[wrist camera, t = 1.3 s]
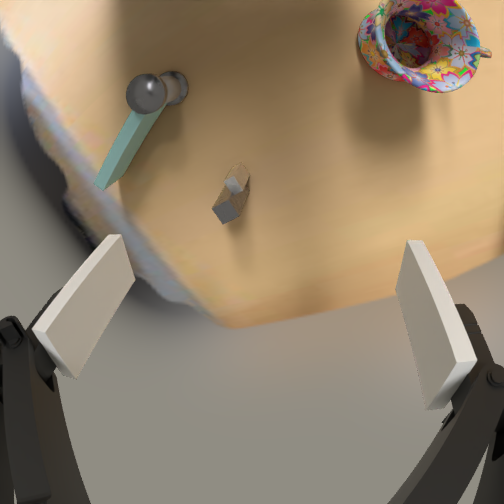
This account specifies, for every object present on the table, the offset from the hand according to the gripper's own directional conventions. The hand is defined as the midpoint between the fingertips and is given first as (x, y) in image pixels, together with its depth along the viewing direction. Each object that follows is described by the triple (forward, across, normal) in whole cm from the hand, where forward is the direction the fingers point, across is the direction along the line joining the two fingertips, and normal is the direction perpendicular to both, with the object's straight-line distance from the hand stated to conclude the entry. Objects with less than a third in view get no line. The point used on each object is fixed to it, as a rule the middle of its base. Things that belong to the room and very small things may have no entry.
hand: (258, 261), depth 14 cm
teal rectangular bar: (+23, -16, +2) cm, 28 cm away
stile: (+23, -6, -6) cm, 25 cm away
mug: (+24, +14, +11) cm, 30 cm away
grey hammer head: (+24, -12, +7) cm, 27 cm away
